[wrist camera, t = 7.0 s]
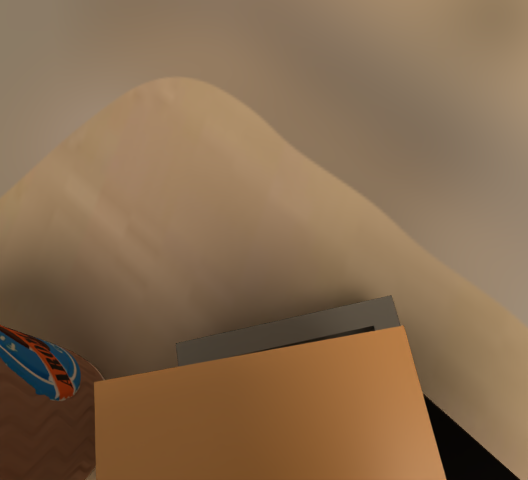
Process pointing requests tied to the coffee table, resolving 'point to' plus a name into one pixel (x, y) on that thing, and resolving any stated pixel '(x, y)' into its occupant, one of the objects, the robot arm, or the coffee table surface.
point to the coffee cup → (45, 410)
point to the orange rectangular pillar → (273, 416)
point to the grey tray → (292, 331)
